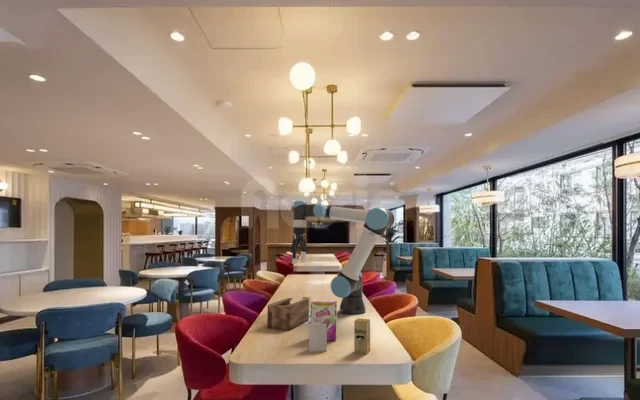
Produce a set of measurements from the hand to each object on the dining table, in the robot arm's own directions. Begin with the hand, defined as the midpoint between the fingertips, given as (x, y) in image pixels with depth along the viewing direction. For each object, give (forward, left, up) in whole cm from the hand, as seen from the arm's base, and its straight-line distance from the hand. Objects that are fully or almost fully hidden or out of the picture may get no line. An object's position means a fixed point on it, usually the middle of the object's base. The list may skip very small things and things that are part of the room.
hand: (299, 263), depth 232 cm
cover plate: (-8, +8, -28) cm, 30 cm away
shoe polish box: (-54, +62, -28) cm, 87 cm away
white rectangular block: (-37, +66, -28) cm, 81 cm away
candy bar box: (-34, +51, -28) cm, 67 cm away
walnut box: (-8, +31, -28) cm, 42 cm away
